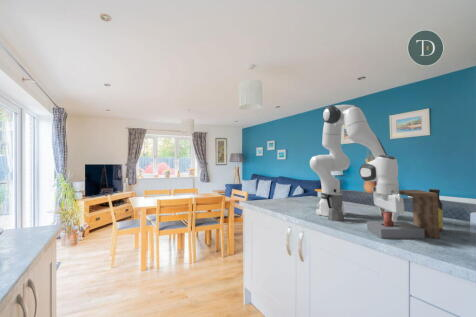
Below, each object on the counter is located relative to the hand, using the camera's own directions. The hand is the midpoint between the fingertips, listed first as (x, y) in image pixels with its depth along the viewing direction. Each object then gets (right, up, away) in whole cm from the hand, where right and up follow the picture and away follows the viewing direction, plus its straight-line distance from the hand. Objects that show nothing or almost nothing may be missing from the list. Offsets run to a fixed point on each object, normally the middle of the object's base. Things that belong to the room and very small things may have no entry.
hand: (388, 219), depth 114 cm
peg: (0, -7, 0) cm, 7 cm away
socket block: (+2, -7, -1) cm, 7 cm away
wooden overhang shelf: (+12, -6, -2) cm, 14 cm away
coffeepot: (-13, -8, +30) cm, 34 cm away
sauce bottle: (+25, -6, +3) cm, 26 cm away
